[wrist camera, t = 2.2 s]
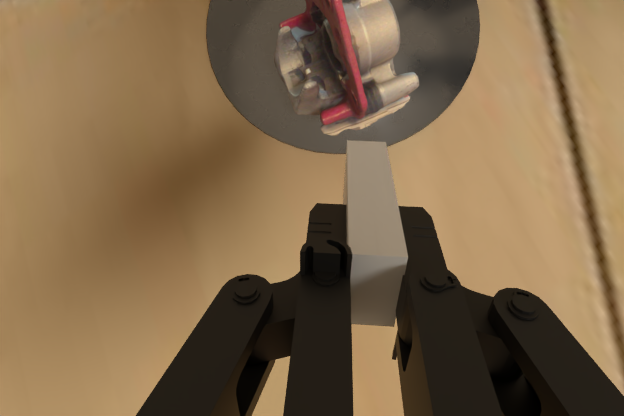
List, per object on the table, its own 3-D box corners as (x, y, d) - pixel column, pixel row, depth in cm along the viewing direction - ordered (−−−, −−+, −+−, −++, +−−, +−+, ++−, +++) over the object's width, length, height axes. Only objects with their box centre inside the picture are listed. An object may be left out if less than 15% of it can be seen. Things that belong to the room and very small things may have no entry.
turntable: (478, -93, 36) (478, -95, 36) (480, 160, 32) (481, 159, 32) (220, -95, 38) (219, -97, 37) (193, 148, 34) (192, 147, 34)
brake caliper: (229, 35, 32) (302, -109, 23) (327, 40, 39) (415, -69, 30) (282, 158, 31) (384, 54, 21) (375, 141, 37) (485, 57, 28)
